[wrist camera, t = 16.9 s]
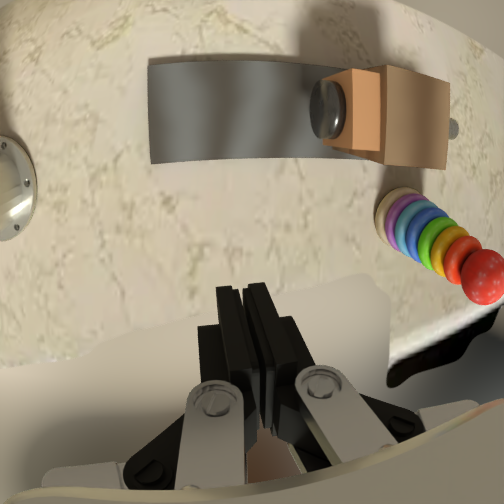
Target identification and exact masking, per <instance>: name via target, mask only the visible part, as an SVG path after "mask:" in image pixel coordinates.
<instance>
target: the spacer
mask: <svg viewBox="0 0 504 504" xmlns="http://www.w3.org/2000/svg"><path fill="white" fill-rule="evenodd" d="M322 80H329V81H336V82H338V83H339V84H340V85H341V86H342V88H343V91H344V94H345V98H346V120H345V124H344V128H343V130H342V132H341V134H340V135H339V137H338V138H336V139H323V145H327V146H334V147H341V148H348V149H357V150H371V151H380V125H381V97H380V73H375V72H370V71H365V70H359V69H354V68H351V69H348V70H345V71H343V72H340V73H337V74H334V75H331V76H329V77H326V78H323V79H322Z"/></svg>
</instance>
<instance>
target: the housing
mask: <svg viewBox="0 0 504 504" xmlns="http://www.w3.org/2000/svg"><path fill="white" fill-rule="evenodd" d="M345 70H348V69H341V68H334V67H327V66H319V65H310V64H300V63H288V62H272V61H196V62H180V63H168V64H158V65H149V66H148V119H149V141H150V158H151V164H161V163H172V162H185V161H200V160H218V159H242V158H335V159H358V160H371V161H374V162H377V163H380V164H383V165H396V166H409V167H420V168H430V169H440V170H446V162H447V151H448V138H449V118H450V83H448V82H445V81H442V80H439V79H436V78H433V77H430V76H427V75H424V74H420V73H417V72H413V71H410V70H406V69H402V68H399V67H395V66H391V65H382V66H377V67H372V68H367V69H362V70H365V71H370V72H375V73H380V97H381V125H380V151H371V150H357V149H348V148H341V147H334V146H327V145H323V139H319V138H317V137H316V136H315V134H314V132H313V130H312V127H311V122H310V98H311V93H312V90H313V87H314V85H315V84H316V82H317V81H319V80H322V79H323V78H326V77H329V76H331V75H334V74H337V73H340V72H343V71H345Z"/></svg>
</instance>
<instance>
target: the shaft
mask: <svg viewBox="0 0 504 504" xmlns="http://www.w3.org/2000/svg"><path fill="white" fill-rule="evenodd" d="M345 120H346V98H345V94H344V91H343V88H342V86H341V85H340V84H339V83H338V82H336V81H329V80H319V81H317V82H316V84H315V85H314V87H313V90H312V93H311V98H310V122H311V127H312V130H313V132H314V134H315V136H316V137H317V138H319V139H336V138H338V137H339V135H340V134H341V132H342V130H343V128H344V124H345ZM458 131H459V128H458V124H457V122H456V121H455V120H454V119H452V118H449V138H448V139H450V140H453V139H455V138H456V137H457V135H458Z"/></svg>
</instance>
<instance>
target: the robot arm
mask: <svg viewBox="0 0 504 504" xmlns="http://www.w3.org/2000/svg"><path fill="white" fill-rule="evenodd" d="M29 181H30V182H29ZM36 199H37V185H36V177H35V173H34V169H33V166H32V163H31V161H30V158H29V157H28V155H27V153H26V152H25V150H24V149H23V148H22V147H21V146H20V145H19V144H18V143H17V142H16V141H14V140H13V139H11V138H8V137H6V136H0V241H7V240H11V239H12V238H14V237H16V236H17V235H19V234H20V233H21V232H22V231H23V230H24V229H25V228H26V226H27V225H28V224H29V222H30V220H31V218H32V216H33V213H34V210H35V205H36ZM216 297H217V309H218V320H219V324H216V325H206V326H198V343H199V344H198V345H199V360H200V374H201V383H200V384H199V385H197V386H196V387H194V388H193V389H192V391H191V392H190V393H189V396H188V398H187V403H186V409H185V413H184V414H183V415H182V416H181V417H180V418H179V419H177V420H176V421H175V422H174V423H173V424H171V425H170V426H169V427H168V428H167V429H166V430H164V431H163V432H162V433H161V434H160V435H158V436H157V437H156V438H155V439H153V440H152V441H151V442H150V443H148V444H147V445H146V446H145V447H143V448H142V449H141V450H140V451H138V452H137V453H136V454H135V455H133V456H132V457H131V458H130V459H129V460H128V461H127V462H126V463H121V464H117V463H116V462H115V461H114V462H107V463H99V464H92V465H82V466H71V467H59V468H54V469H51V470H50V471H48V472H47V473H46V474H45V475H44V477H43V479H42V484H41V488H35V489H31V490H26V491H24V492H21V493H18V494H15V495H13V496H11V497H10V498H9V499H7V500H6V502H5V503H4V504H504V398H503V399H498V400H495V401H491V402H488V403H486V404H483V405H481V406H480V405H479V404H478V403H476V402H475V401H472V400H462V401H458V402H453V403H448V404H444V405H439V406H434V407H429V408H423V409H419V410H418V411H417V413H414V412H412V411H410V410H407V409H405V408H402V407H398V406H395V405H392V404H389V403H386V402H383V401H380V400H377V399H374V398H371V397H368V396H365V395H363V394H360V393H358V392H357V391H356V389H355V388H354V387H353V386H352V384H351V383H350V382H349V381H348V380H347V378H346V377H345V376H344V375H343V374H342V373H341V372H340V371H339V370H337V369H335V368H333V367H330V366H326V365H315V363H314V361H313V358H312V356H311V354H310V352H309V350H308V348H307V346H306V344H305V342H304V340H303V338H302V336H301V333H300V332H299V329H298V327H297V325H296V323H295V321H294V319H293V318H292V316H286V317H279V315H278V313H277V311H276V308H275V306H274V303H273V301H272V299H271V296H270V294H269V292H268V289H267V287H266V285H265V283H264V282H262V283H252V284H248V288H243V305H242V301H241V298H240V294H239V290H238V289H232V286H221V287H216ZM259 414H260V415H261V419H262V423H263V427H264V428H270V430H271V434H272V436H277V437H278V438H279V439H282V440H283V441H286V442H287V445H288V448H289V450H290V452H291V454H292V456H293V458H294V460H295V462H296V464H297V465H298V467H299V469H300V471H301V473H302V474H300V475H296V476H291V477H286V478H281V479H276V480H270V481H265V482H259V483H252V484H247V454H246V453H247V452H248V451H249V449H250V448H251V447H252V446H253V445H254V444H255V443H256V442H257V430H258V429H259Z"/></svg>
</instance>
